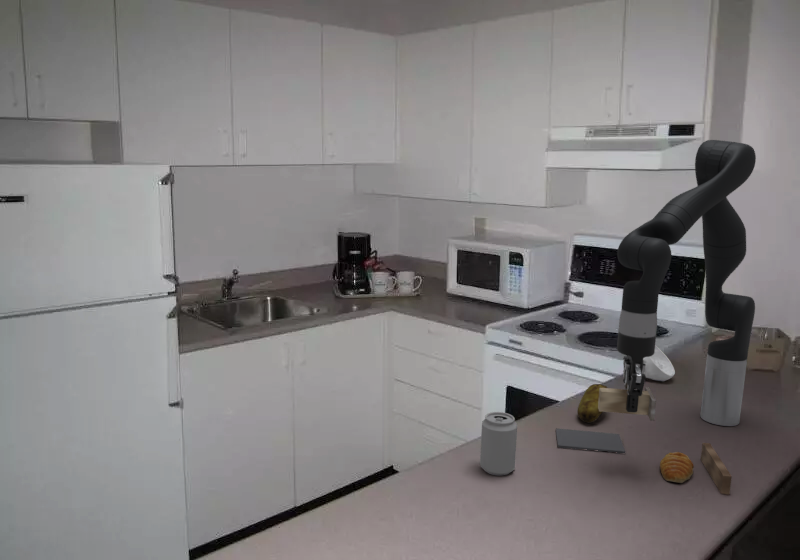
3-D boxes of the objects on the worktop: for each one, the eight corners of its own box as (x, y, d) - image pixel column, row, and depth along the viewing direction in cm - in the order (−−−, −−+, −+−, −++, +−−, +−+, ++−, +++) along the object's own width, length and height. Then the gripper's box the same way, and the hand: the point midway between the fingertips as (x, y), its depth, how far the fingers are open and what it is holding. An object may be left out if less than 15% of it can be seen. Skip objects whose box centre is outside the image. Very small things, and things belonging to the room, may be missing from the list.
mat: (555, 430, 165) (555, 428, 165) (618, 436, 163) (619, 433, 163) (557, 447, 156) (558, 445, 156) (625, 453, 153) (625, 451, 153)
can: (517, 464, 147) (520, 412, 144) (511, 480, 140) (514, 425, 138) (483, 458, 149) (486, 407, 147) (476, 473, 142) (478, 420, 140)
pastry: (691, 488, 138) (692, 471, 138) (656, 481, 141) (657, 464, 140) (693, 470, 147) (695, 453, 146) (660, 463, 149) (662, 447, 149)
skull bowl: (626, 362, 217) (649, 335, 211) (659, 393, 211) (684, 367, 205) (611, 368, 210) (634, 341, 204) (645, 401, 203) (670, 374, 197)
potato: (563, 417, 174) (565, 388, 172) (592, 406, 182) (595, 378, 180) (590, 428, 167) (593, 397, 166) (620, 416, 175) (622, 387, 174)
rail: (700, 459, 151) (702, 442, 151) (708, 460, 151) (710, 443, 150) (721, 493, 136) (723, 475, 135) (729, 494, 136) (731, 476, 135)
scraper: (600, 416, 142) (602, 396, 141) (596, 402, 149) (598, 383, 148) (654, 420, 140) (656, 400, 139) (647, 406, 148) (649, 387, 147)
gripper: (662, 341, 134) (654, 423, 137) (649, 323, 147) (643, 398, 150) (623, 339, 135) (616, 420, 138) (614, 321, 148) (608, 396, 152)
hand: (630, 408), depth 144 cm, fingers closed on scraper, 2 cm apart
